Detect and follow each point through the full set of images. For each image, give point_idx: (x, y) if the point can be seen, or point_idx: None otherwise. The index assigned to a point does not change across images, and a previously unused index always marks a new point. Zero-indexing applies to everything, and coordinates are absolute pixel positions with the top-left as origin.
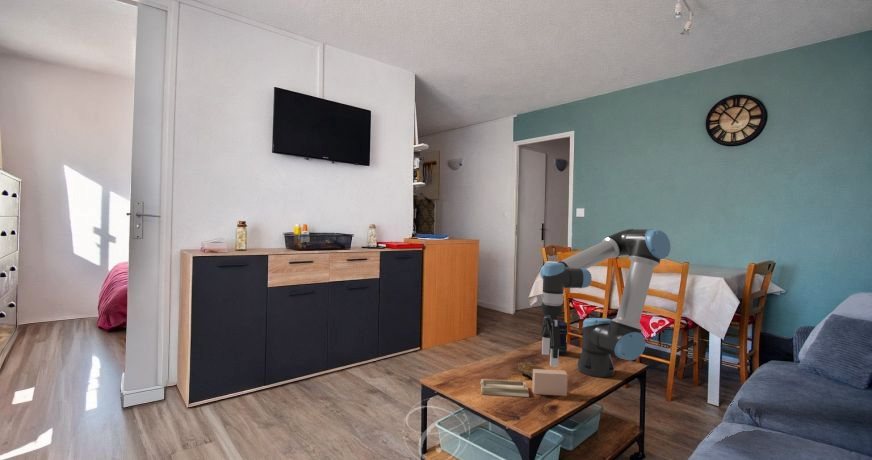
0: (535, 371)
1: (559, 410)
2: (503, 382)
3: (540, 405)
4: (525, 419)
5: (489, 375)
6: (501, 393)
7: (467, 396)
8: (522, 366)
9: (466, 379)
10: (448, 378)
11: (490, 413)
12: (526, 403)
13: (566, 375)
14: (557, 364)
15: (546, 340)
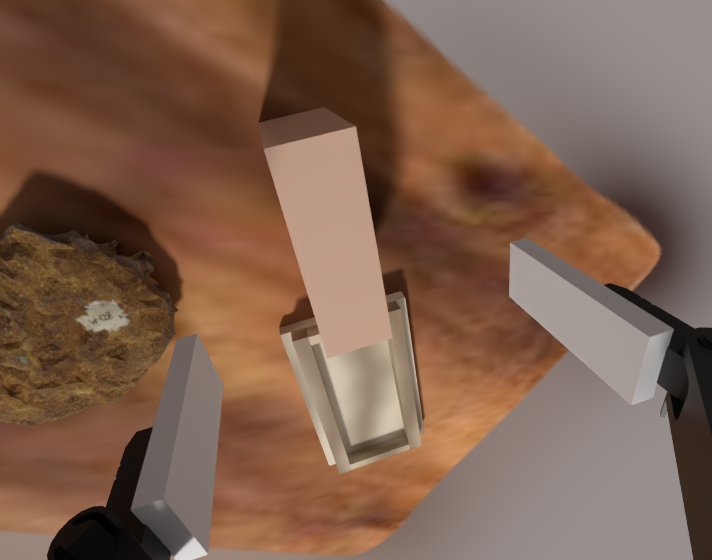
0: (368, 339)
1: (509, 155)
2: (331, 406)
3: (472, 237)
4: None
5: (223, 462)
6: (415, 382)
7: (445, 448)
8: (72, 396)
9: (308, 497)
10: (323, 530)
11: (547, 369)
12: (463, 289)
13: (356, 134)
14: (541, 252)
15: (190, 493)
